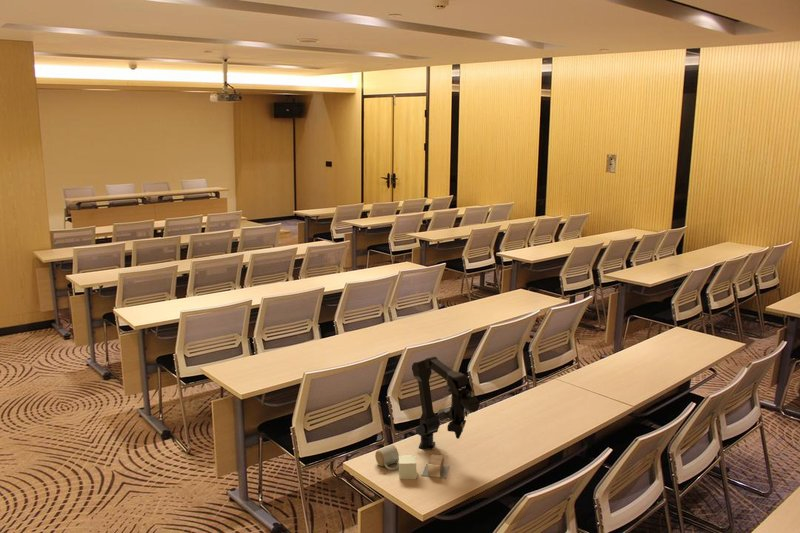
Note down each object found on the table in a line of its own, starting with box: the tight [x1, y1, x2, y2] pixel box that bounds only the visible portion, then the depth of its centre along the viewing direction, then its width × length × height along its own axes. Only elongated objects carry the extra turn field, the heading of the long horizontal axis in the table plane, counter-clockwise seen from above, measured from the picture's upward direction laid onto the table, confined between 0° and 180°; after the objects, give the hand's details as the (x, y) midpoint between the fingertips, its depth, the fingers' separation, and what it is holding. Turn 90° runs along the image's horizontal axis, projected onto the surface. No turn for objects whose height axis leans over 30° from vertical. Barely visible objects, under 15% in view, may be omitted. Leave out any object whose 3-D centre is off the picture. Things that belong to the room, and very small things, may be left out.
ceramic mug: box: [374, 444, 400, 471], centre depth 291 cm, size 11×8×8 cm
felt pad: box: [421, 463, 450, 480], centre depth 286 cm, size 10×10×1 cm
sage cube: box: [398, 454, 417, 480], centre depth 283 cm, size 7×7×7 cm
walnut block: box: [427, 453, 445, 478], centre depth 286 cm, size 5×5×9 cm
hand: (457, 438), depth 290 cm, fingers closed
